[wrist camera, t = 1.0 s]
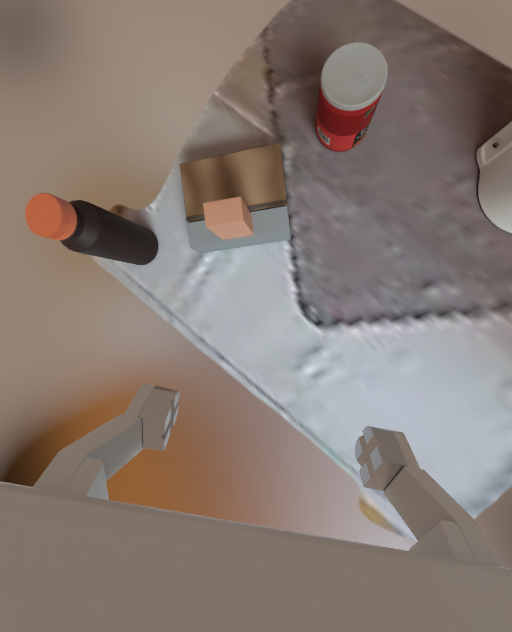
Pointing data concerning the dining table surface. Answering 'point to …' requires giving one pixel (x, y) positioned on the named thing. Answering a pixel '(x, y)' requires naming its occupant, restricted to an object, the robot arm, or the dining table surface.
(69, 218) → the bottle
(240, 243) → the stub
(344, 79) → the canned food
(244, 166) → the block
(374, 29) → the dining table surface
